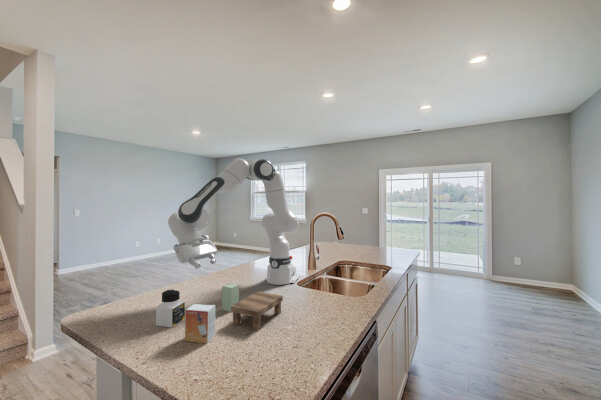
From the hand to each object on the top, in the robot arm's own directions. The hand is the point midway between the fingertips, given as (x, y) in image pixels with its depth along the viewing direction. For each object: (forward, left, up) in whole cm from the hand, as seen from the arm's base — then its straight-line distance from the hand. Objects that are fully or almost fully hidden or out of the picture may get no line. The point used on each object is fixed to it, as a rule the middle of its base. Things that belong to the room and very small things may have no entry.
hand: (206, 265), depth 120 cm
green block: (0, +14, -17) cm, 22 cm away
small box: (+24, +21, -17) cm, 36 cm away
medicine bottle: (+20, +2, -17) cm, 26 cm away
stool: (+3, +30, -17) cm, 34 cm away
